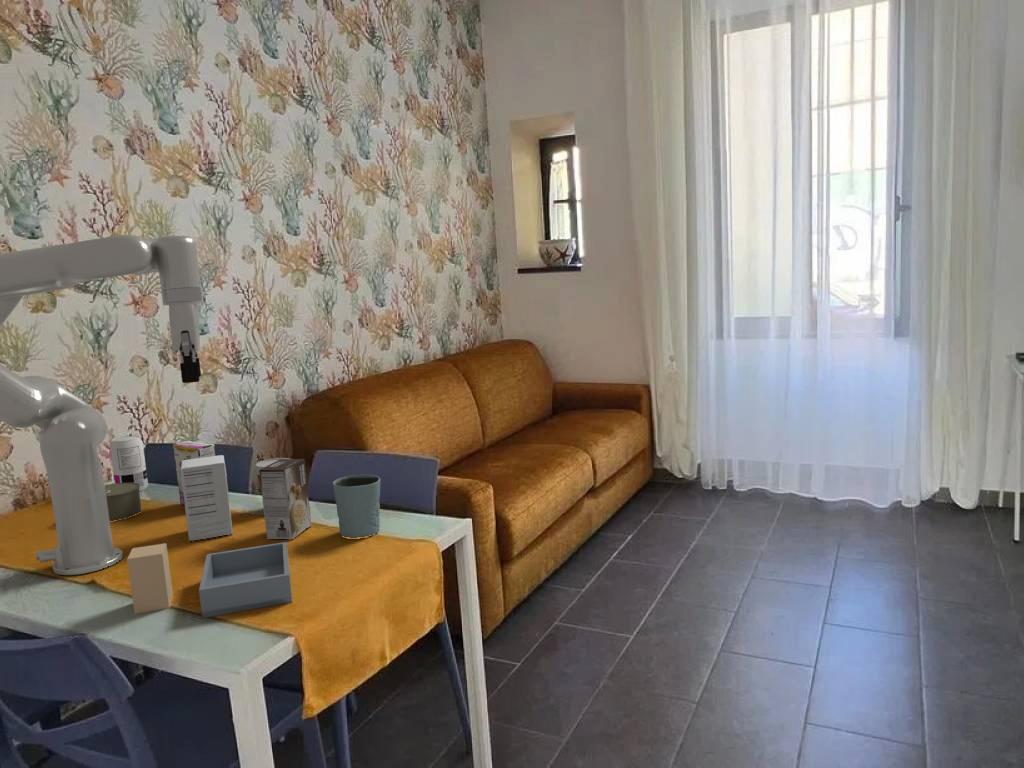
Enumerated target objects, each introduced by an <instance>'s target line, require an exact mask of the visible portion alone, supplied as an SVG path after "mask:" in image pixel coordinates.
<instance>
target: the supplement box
mask: <svg viewBox="0 0 1024 768" xmlns="http://www.w3.org/2000/svg"><path fill="white" fill-rule="evenodd" d="M226 467H227V466H226V463H225V455H223V454H219V455H216V456H211V457H204V458H196V459H189V460H182V465H181V469H180V471H181V480H182V488H183V495H184V502H185V506H184V509H185V519H186V526H187V535H188V541H190V540H197V539H203V538H210V537H216V536H222V535H228V534H232V535H233V525H232V524H233V523H232V515H231V513H232V512H231V505H230V504H231V503H230V502H231V501H230V495H229V493H230V492H229V485H228V484H229V483H228V476H227V468H226ZM228 536H229V535H228ZM222 537H223V536H222ZM216 538H217V537H216ZM210 539H211V538H210Z"/></svg>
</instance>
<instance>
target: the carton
mask: <svg viewBox="0 0 1024 768" xmlns="http://www.w3.org/2000/svg"><path fill="white" fill-rule="evenodd" d="M167 546H168V545H167V543H166V542H165V543H158V544H152V545H145V546H139V547H133V548H132V549H131V551H130V552H129V554H128V556H127V559H126V561H127V566H128V567H127V569H128V574H129V581H130V582H129V584H130V588H131V589H130V590H131V596H132V605H133V611H134V615H136V614H142V613H143V614H144V613H148V612H155V611H159V610H160V611H161V610H165V609H166V610H167V609H169V608H171V607H170V606H171V604H172V601H173V596H174V592H173V587H172V577H171V569H170V563H169V553H168V547H167Z"/></svg>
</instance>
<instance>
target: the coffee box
mask: <svg viewBox="0 0 1024 768" xmlns="http://www.w3.org/2000/svg"><path fill="white" fill-rule="evenodd" d="M305 460H306V459H305V458H297V459H296V458H289V459H280V460H278V461H276V462H274V463H272V464H270V465H268V466H266V467H264V468H262V469H260V470H259V472H260V481H261V489H260V491H261V490H262V494H261V498H262V505H263V506H262V507H263V513H264V522H265V523H264V524H265V532H266V539H293V538H294V537H296V536H297V535H298V534H299V533H300V532H302V531H303V530H304V529H306V528H307V527H309V526H310V525H312V517H311V509H310V500H309V490H308V478H307V471H306V461H305ZM296 538H297V537H296Z"/></svg>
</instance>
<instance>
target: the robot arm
mask: <svg viewBox="0 0 1024 768" xmlns="http://www.w3.org/2000/svg"><path fill="white" fill-rule="evenodd" d="M198 259H199V258H198V251H197V243H196V240H195V239H194V238H192V237H191V236H188V235H165V236H161V237H158V238H145V237H141V236H137V235H133V234H121V235H113V236H107V237H101V238H100V237H98V238H92V239H88V240H82V241H75V242H70V243H69V242H68V243H62V244H60V243H59V244H55V245H49V246H42V247H35V248H31V249H30V248H29V249H23V250H22V249H21V250H17V251H10V252H2V253H0V328H1V327H2V326H3V324H4V323H5V322H6V320H7V319H8V318H9V317H10V316H11V314H12V312H13V311H14V310H15V309H16V307H17V306H18V304H19V303H21V300H22V299H23V298H24V296H30V295H35V294H43V293H48V292H55V291H62V290H67V289H70V288H73V287H75V286H76V285H79V284H81V283H85V282H90V281H96V280H102V279H107V278H113V277H119V276H120V277H121V276H127V275H136V276H137V275H148V274H152V273H153V274H154V273H158V275H159V281H160V292H161V299H162V306H168V318H169V320H168V321H169V326H170V327H169V329H170V336H171V337H170V338H171V348H172V353H173V354H174V355H175V354H178V353H179V355H180V358H179V359H180V364H179V365H180V375H181V376H180V377H181V382H182V383H183V384H189V383H191V384H192V383H199V382H200V377H201V376H202V372H201V364H200V357H199V356H198V352H199V350H200V342H201V341H200V323H199V314H198V306H197V304H203V303H204V302H203V295H202V285H201V284H202V283H201V276H200V269H199V260H198ZM0 421H1V422H3V423H4V424H5V425H8V426H11V427H14V428H18V429H19V428H20V429H21V428H28V427H32V426H36V427H38V428H40V429H41V430H42V431H41V433H40V437H39V449H40V453H41V456H42V459H43V464H44V466H45V471H46V475H47V479H48V485H49V493H50V499H51V502H52V503H51V505H52V509H53V515H54V522H55V530H56V536H57V542H58V543H57V544H58V546H55V547H54V548H53V549H44V550H43V549H42V550H37V551H36V553H35V554H36V556H35V558H36V560H37V561H39V562H40V563H47V562H52V561H53V562H54V563H53V564H52V571H53V572H54V573H55V574H56V575H61V576H74V575H75V576H76V575H84V574H87V573H89V574H90V573H92V572H93V573H94V572H96V571H101V570H103V568H104V569H106V568H108V566H109V567H110V566H111V567H112V566H113V565H116V564H117V563H118V562H120V561H121V560H122V559H123V557H124V552H123V550H122V549H121V548H118V547H114V543H113V536H112V529H111V528H112V527H111V522H110V520H109V513H108V505H107V498H106V491H105V485H106V484H105V480H104V479H105V478H104V473H103V468H102V464H101V460H100V457H99V452H98V446H100V445H101V443H102V442H104V440H105V439H106V436H107V434H108V433H107V432H108V425H107V422H106V419H105V418H104V416H103V415H102V414H101V412H100V411H98V410H97V409H96V408H94V407H93V406H91V405H90V404H88V403H87V402H85V401H84V400H83V399H81V398H80V397H78V396H77V395H75V394H73V393H72V392H71V391H69V390H68V389H66V388H65V387H63V386H62V385H60V384H59V383H57V382H55V381H54V380H52V379H49V378H48V377H44V376H40V375H28V376H22V375H19V374H17V373H16V372H14V371H12V370H10V369H9V368H8V367H6V366H4V365H3V364H2V363H0ZM119 560H120V561H119ZM116 562H117V563H116Z"/></svg>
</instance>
